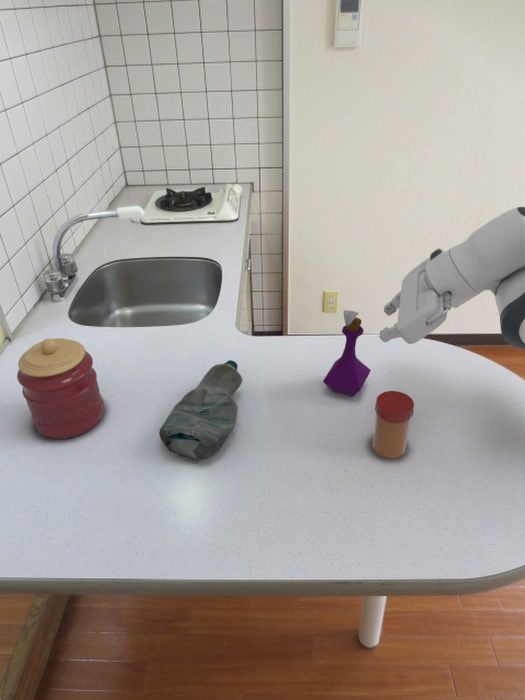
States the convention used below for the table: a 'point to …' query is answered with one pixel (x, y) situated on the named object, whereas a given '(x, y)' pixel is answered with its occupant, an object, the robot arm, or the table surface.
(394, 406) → the jar lid
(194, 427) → the crushed plastic bottle
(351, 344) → the purple potion bottle
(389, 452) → the jam jar
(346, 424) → the table surface
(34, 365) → the kitchen canister
